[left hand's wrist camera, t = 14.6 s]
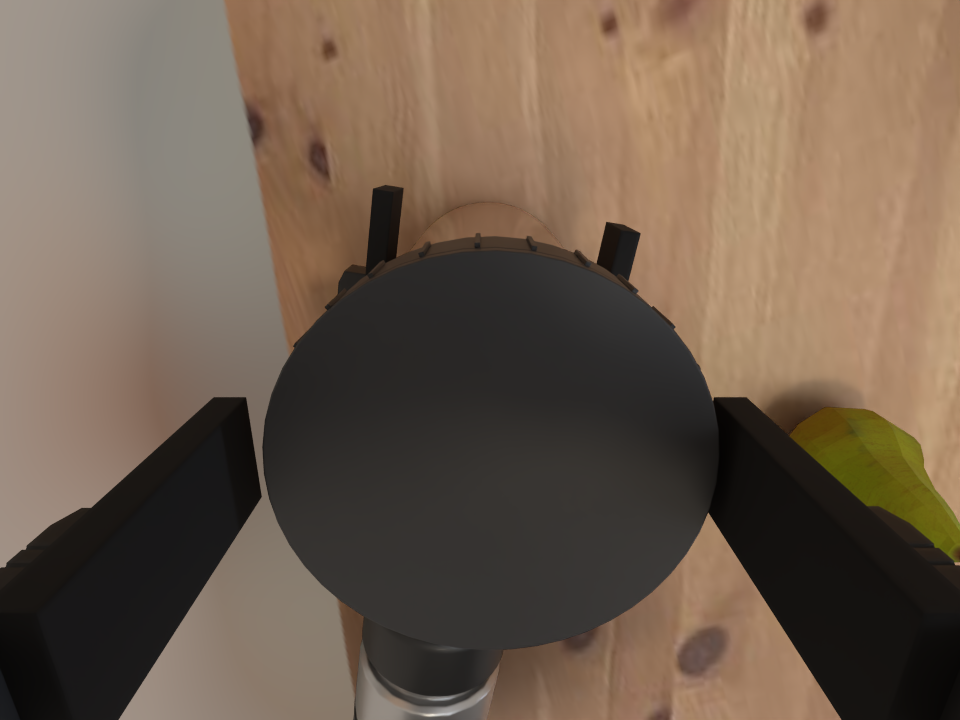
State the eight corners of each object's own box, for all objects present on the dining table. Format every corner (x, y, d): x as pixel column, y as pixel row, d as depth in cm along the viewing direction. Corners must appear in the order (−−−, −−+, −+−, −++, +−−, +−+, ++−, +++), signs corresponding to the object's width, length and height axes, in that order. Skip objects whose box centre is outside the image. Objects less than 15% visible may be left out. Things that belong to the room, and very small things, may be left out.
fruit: (770, 496, 34) (911, 665, 23) (751, 409, 32) (895, 548, 21) (878, 465, 33) (1079, 624, 22) (865, 374, 31) (1080, 498, 20)
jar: (429, 180, 28) (337, 223, 11) (590, 229, 29) (752, 343, 11) (391, 336, 31) (269, 572, 13) (538, 377, 32) (603, 649, 14)
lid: (331, 176, 12) (301, 179, 10) (759, 303, 13) (807, 329, 11) (262, 544, 15) (230, 601, 13) (606, 625, 16) (622, 688, 14)
